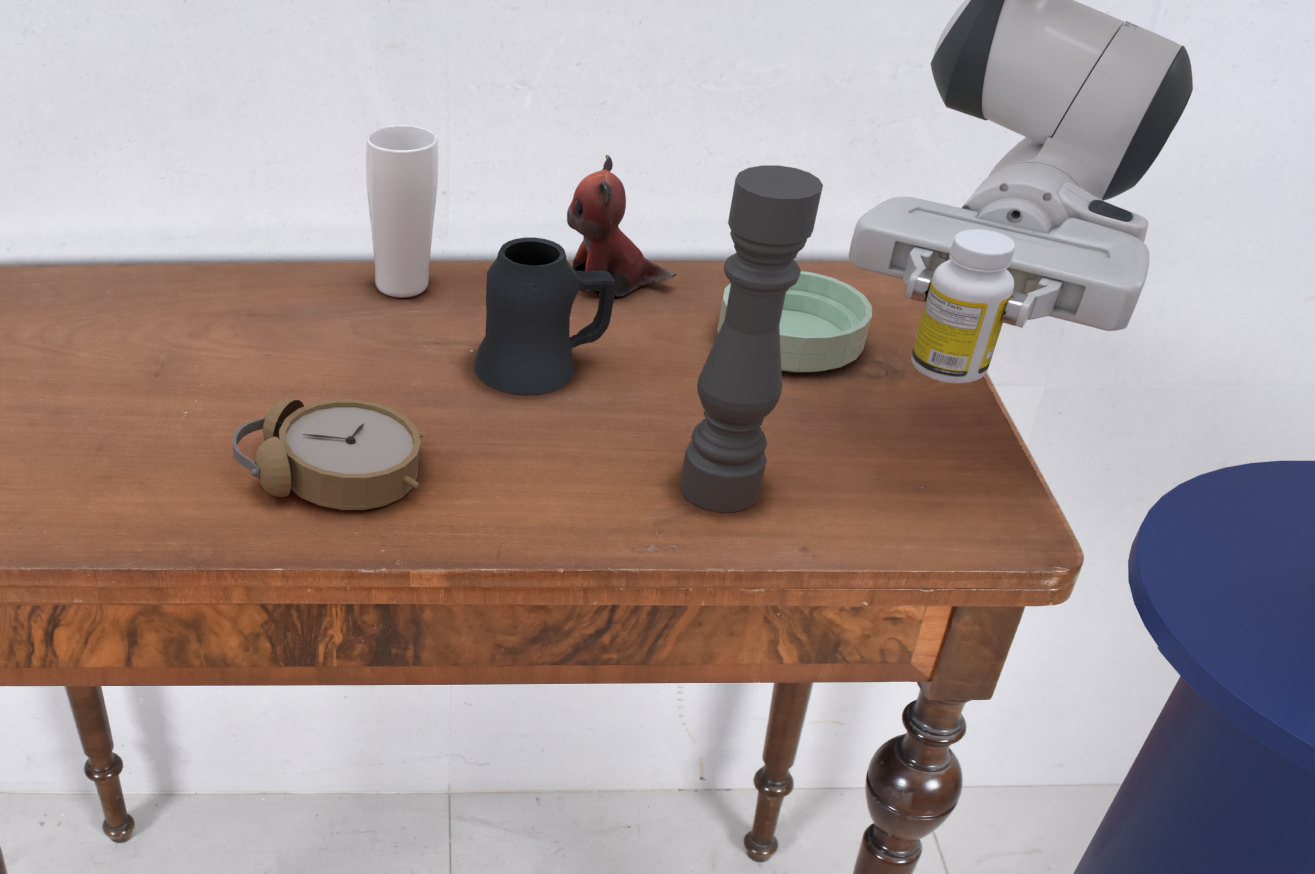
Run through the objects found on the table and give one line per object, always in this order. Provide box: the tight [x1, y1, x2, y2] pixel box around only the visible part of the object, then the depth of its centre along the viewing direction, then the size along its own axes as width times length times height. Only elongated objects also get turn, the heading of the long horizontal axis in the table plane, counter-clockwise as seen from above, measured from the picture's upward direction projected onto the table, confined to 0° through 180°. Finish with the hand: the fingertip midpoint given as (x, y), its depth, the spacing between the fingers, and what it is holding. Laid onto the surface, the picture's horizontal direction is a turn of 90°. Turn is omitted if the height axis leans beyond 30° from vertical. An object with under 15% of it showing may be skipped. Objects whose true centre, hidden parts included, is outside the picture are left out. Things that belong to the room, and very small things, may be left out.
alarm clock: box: [232, 398, 424, 511], centre depth 103 cm, size 11×5×15 cm
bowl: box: [716, 270, 873, 373], centre depth 119 cm, size 13×13×4 cm
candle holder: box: [679, 164, 824, 513], centre depth 94 cm, size 6×6×25 cm
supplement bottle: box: [910, 229, 1015, 384], centre depth 91 cm, size 5×5×10 cm
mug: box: [473, 236, 615, 395], centre depth 113 cm, size 12×9×11 cm
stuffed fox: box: [566, 154, 679, 297], centre depth 124 cm, size 8×11×12 cm
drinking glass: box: [365, 124, 439, 299], centre depth 123 cm, size 7×7×15 cm
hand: (965, 303), depth 90 cm, fingers closed on supplement bottle, 5 cm apart
